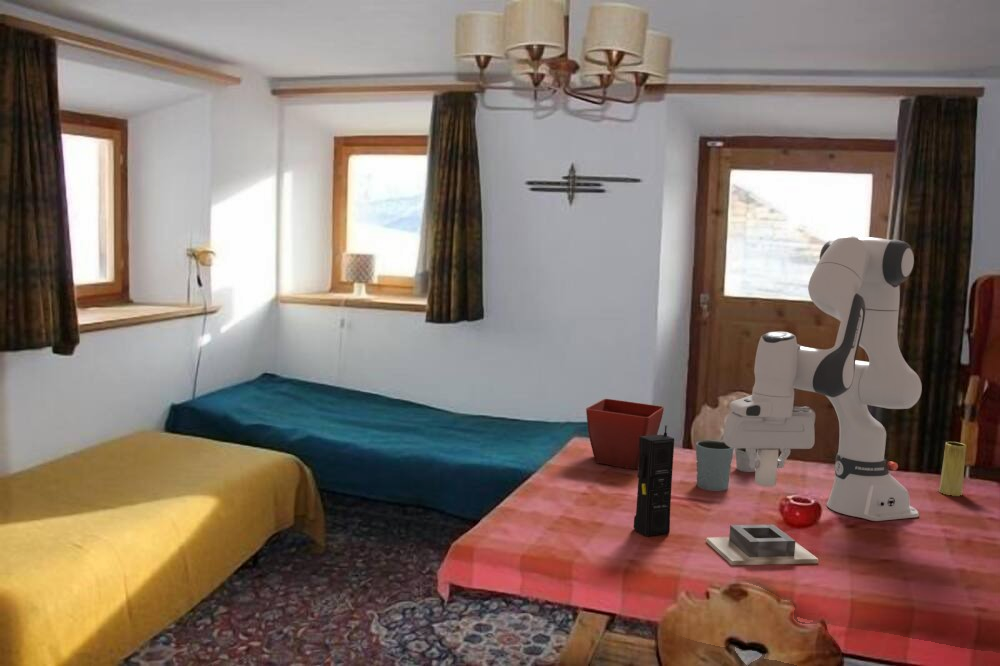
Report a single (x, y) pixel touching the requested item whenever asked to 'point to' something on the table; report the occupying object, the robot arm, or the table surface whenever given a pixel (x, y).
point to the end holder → (760, 546)
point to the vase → (953, 469)
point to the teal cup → (713, 464)
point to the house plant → (744, 460)
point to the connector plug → (767, 467)
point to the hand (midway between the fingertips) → (766, 467)
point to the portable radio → (654, 484)
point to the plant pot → (621, 430)
